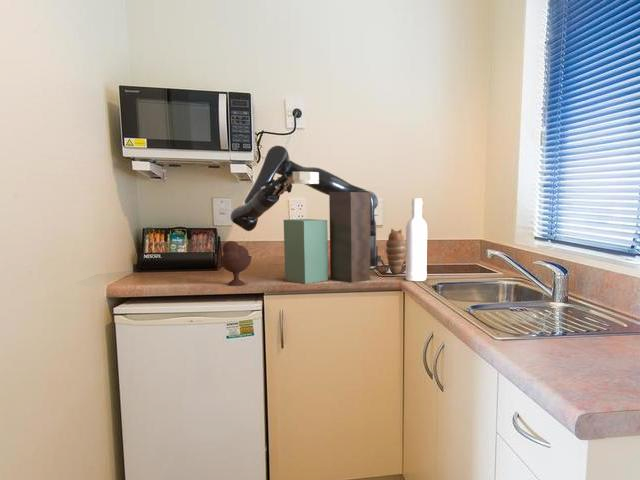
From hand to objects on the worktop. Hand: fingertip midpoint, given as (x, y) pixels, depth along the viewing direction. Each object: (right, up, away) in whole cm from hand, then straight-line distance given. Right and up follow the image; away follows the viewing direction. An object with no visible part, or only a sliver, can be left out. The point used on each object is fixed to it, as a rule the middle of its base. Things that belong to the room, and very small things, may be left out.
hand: (289, 176), depth 188 cm
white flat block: (+3, -3, -2) cm, 5 cm away
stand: (+22, -38, +3) cm, 44 cm away
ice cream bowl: (-16, -40, -11) cm, 44 cm away
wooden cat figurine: (+38, -36, +18) cm, 56 cm away
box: (+7, -38, 0) cm, 39 cm away
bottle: (+47, -38, +4) cm, 60 cm away
